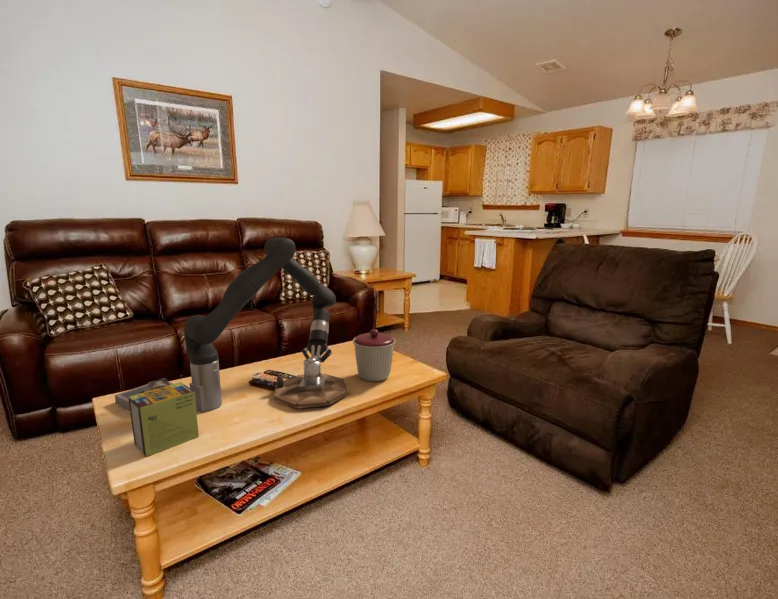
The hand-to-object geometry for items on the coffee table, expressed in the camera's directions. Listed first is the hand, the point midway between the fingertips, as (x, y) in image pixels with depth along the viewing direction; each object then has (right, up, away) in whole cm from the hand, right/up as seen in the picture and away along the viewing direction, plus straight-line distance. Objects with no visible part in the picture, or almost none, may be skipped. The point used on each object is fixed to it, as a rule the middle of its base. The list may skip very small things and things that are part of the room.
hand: (313, 371), depth 165 cm
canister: (+24, -5, +12) cm, 27 cm away
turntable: (0, -7, -4) cm, 8 cm away
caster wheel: (-57, -9, -13) cm, 59 cm away
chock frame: (-58, -9, -11) cm, 60 cm away
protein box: (-38, -15, -37) cm, 56 cm away
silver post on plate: (0, -5, -3) cm, 6 cm away
